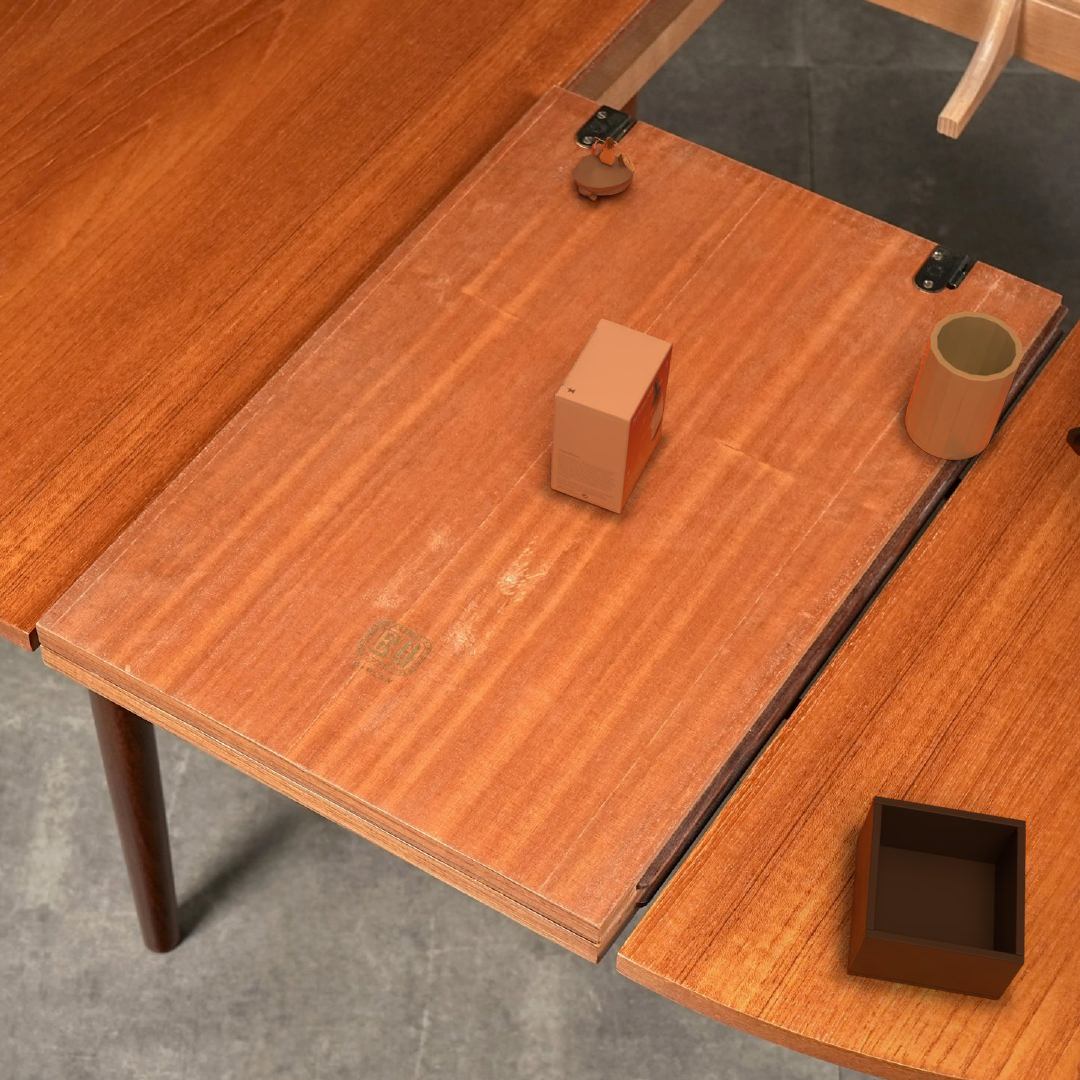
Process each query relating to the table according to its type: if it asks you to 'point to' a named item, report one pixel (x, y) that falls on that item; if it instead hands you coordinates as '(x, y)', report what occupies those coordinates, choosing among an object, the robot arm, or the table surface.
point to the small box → (609, 415)
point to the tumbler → (962, 384)
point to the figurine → (603, 171)
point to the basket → (939, 898)
